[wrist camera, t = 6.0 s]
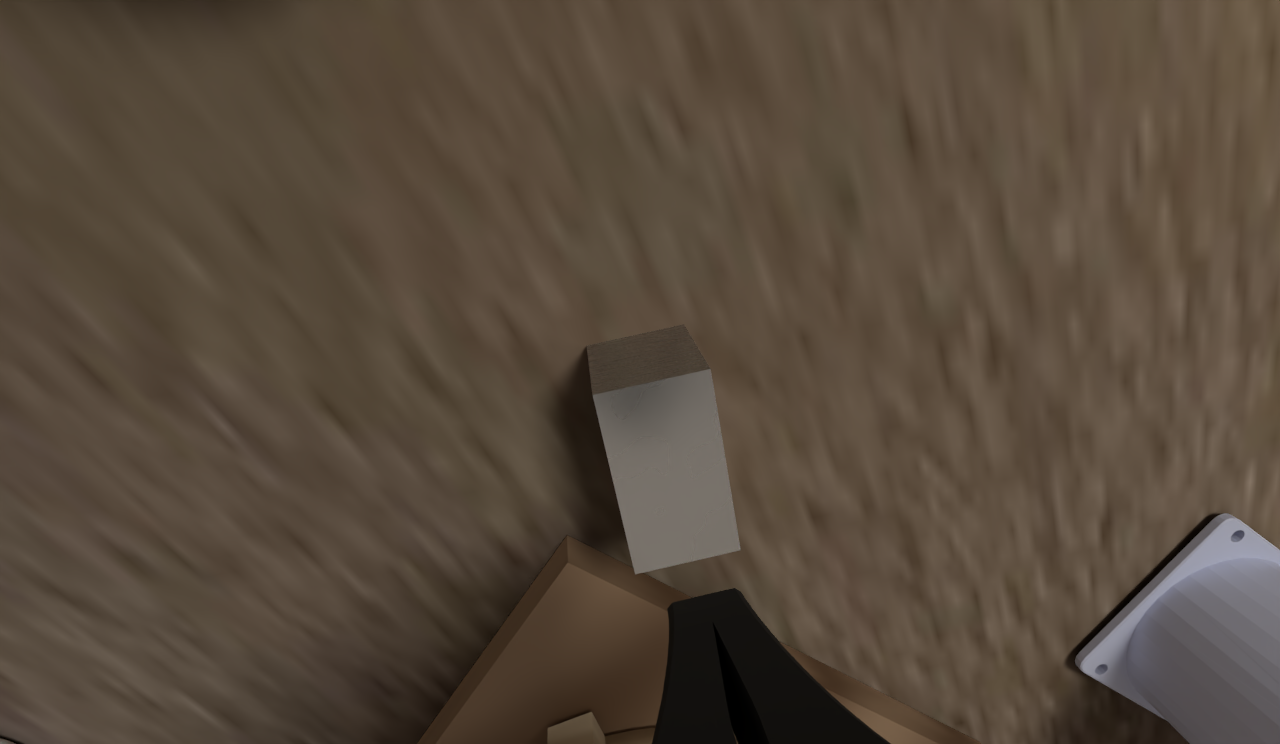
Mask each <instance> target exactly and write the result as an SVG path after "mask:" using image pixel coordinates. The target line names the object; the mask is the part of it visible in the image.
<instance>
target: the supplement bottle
mask: <svg viewBox="0 0 1280 744" xmlns="http://www.w3.org/2000/svg"><path fill="white" fill-rule="evenodd" d="M0 744H16V743H13V742H10V741H8V740H5V739H1V738H0Z"/></svg>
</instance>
